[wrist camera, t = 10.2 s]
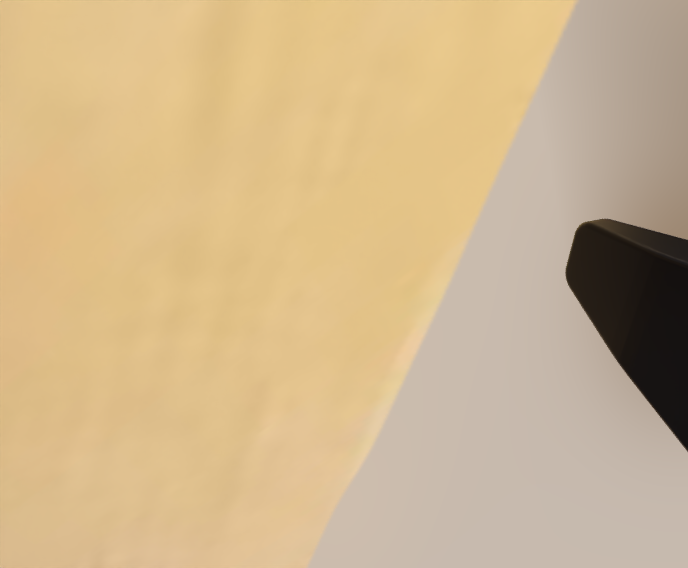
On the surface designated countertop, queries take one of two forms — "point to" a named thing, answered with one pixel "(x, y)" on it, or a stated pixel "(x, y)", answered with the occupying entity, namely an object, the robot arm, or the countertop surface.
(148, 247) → the countertop surface
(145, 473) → the countertop surface
